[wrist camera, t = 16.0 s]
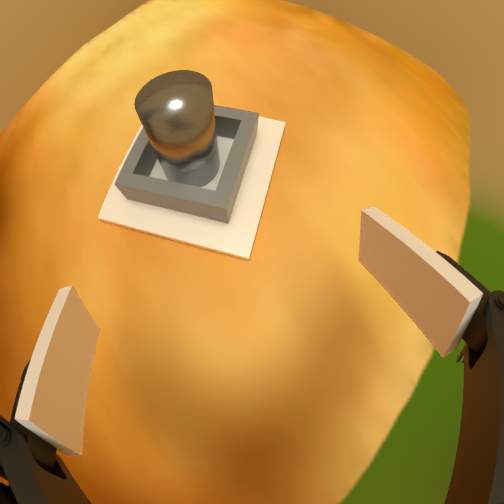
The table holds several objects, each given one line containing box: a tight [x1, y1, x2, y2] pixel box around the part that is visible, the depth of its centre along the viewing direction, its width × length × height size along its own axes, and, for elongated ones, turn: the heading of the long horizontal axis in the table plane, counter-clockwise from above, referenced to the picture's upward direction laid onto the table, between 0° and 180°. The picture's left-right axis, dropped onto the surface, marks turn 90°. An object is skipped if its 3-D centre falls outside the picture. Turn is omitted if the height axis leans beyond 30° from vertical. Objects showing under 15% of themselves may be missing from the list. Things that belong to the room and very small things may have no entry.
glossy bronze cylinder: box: [135, 70, 220, 187], centre depth 19 cm, size 5×5×9 cm
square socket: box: [98, 105, 286, 260], centre depth 23 cm, size 14×14×4 cm
